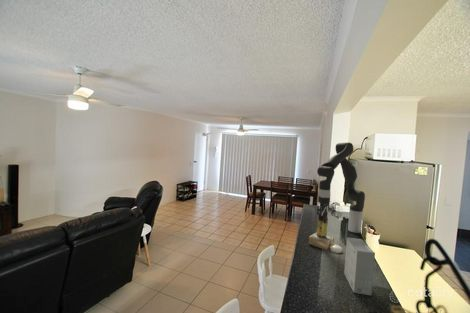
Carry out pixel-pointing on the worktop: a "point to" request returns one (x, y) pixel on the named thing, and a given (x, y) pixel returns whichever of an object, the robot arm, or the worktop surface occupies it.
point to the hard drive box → (359, 266)
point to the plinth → (321, 241)
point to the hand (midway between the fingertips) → (322, 219)
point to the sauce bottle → (322, 226)
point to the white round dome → (335, 248)
